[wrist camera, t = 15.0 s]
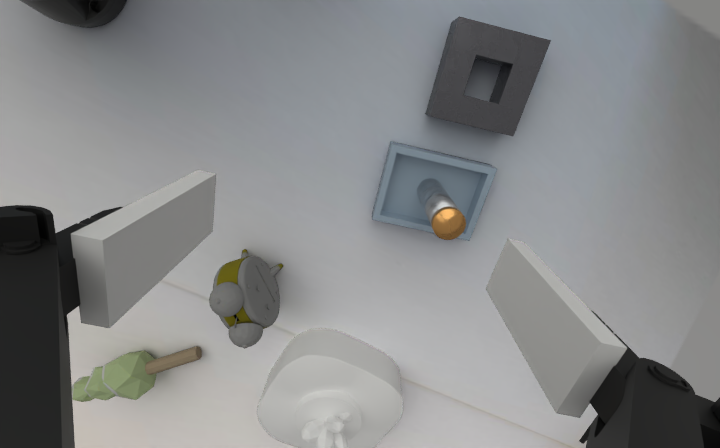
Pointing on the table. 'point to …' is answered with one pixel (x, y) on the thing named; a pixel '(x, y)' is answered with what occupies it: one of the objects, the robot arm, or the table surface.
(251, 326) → the alarm clock
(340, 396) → the tissue box
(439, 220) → the steel pin
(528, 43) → the block
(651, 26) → the table surface
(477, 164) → the tray
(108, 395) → the decorative object
